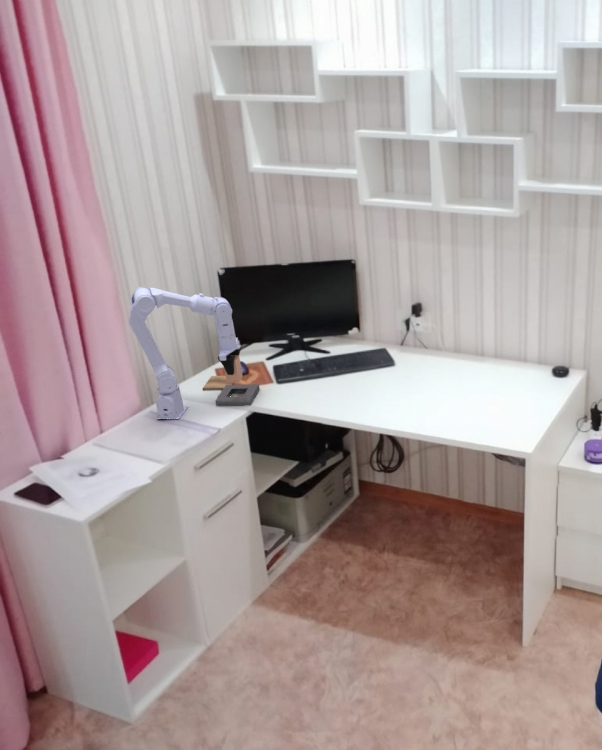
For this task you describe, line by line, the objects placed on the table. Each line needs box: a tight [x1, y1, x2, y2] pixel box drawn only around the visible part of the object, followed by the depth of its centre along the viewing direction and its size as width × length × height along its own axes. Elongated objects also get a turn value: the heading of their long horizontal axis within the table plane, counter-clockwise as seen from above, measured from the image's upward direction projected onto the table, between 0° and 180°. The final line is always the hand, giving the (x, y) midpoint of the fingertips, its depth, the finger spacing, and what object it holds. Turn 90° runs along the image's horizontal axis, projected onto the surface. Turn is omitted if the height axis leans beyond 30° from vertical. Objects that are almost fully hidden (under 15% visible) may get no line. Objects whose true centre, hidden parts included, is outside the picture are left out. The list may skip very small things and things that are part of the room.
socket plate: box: [215, 383, 261, 407], centre depth 298 cm, size 12×12×2 cm
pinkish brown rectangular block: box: [223, 354, 243, 383], centre depth 294 cm, size 4×4×8 cm
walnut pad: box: [202, 375, 235, 391], centre depth 311 cm, size 10×10×1 cm
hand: (232, 371), depth 295 cm, fingers closed on pinkish brown rectangular block, 4 cm apart
